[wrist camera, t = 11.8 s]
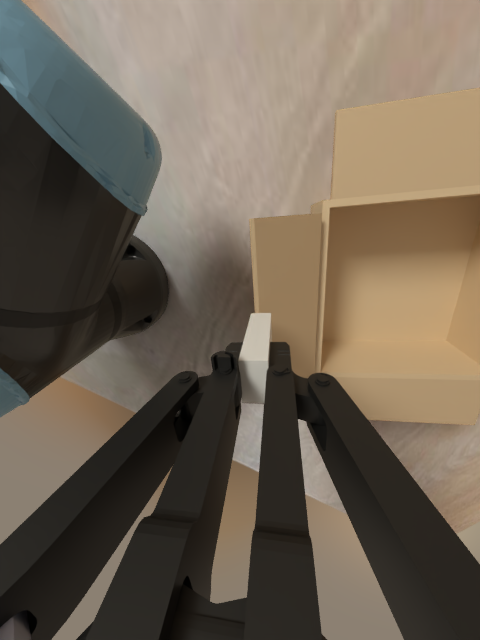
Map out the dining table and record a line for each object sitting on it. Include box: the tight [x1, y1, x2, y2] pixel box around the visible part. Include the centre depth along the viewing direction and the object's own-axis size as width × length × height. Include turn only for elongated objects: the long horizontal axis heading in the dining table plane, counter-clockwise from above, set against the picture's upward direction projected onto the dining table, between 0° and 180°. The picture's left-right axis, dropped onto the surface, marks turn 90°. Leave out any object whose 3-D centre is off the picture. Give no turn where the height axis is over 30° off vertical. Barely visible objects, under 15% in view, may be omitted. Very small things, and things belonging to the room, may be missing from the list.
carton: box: [311, 88, 480, 425], centre depth 26 cm, size 18×30×8 cm, turn 5°
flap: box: [249, 213, 322, 378], centre depth 21 cm, size 1×16×7 cm
